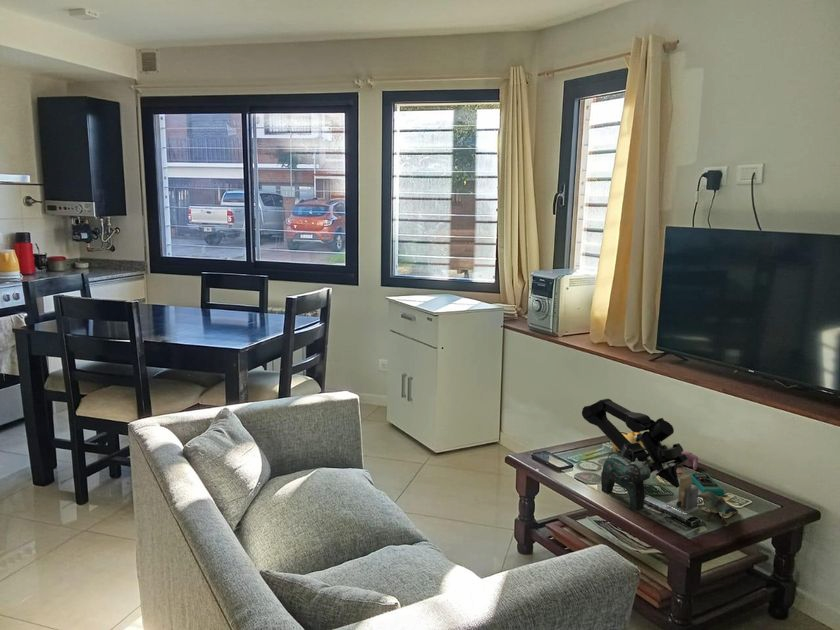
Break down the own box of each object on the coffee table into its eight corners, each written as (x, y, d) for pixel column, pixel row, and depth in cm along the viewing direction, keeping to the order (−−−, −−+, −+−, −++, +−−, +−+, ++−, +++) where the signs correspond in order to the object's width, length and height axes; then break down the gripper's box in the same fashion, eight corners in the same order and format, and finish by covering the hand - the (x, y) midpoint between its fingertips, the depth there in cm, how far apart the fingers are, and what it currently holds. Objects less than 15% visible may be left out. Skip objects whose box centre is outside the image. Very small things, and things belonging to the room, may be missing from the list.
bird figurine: (722, 503, 225) (708, 464, 216) (748, 515, 216) (735, 475, 208) (699, 530, 220) (684, 491, 211) (726, 544, 212) (712, 504, 203)
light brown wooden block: (674, 505, 222) (676, 478, 220) (685, 501, 225) (687, 474, 223) (680, 508, 220) (682, 481, 218) (691, 504, 223) (693, 477, 221)
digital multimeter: (707, 479, 247) (707, 472, 247) (724, 496, 233) (724, 489, 232) (688, 479, 247) (688, 472, 247) (703, 496, 233) (704, 489, 232)
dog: (639, 466, 258) (641, 436, 255) (603, 449, 275) (605, 421, 273) (653, 463, 261) (655, 433, 259) (617, 446, 279) (619, 418, 276)
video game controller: (697, 471, 256) (699, 454, 258) (696, 470, 253) (698, 453, 254) (671, 466, 262) (674, 449, 263) (669, 465, 258) (672, 448, 259)
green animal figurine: (649, 510, 221) (653, 456, 218) (635, 514, 219) (639, 459, 215) (609, 487, 239) (612, 437, 235) (595, 491, 236) (598, 440, 233)
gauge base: (666, 506, 225) (667, 484, 223) (679, 501, 228) (681, 479, 227) (684, 514, 218) (686, 492, 217) (697, 509, 222) (699, 487, 221)
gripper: (650, 442, 221) (676, 484, 214) (685, 432, 231) (710, 471, 224) (631, 456, 229) (655, 497, 222) (665, 445, 239) (689, 484, 232)
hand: (678, 487), depth 225 cm, fingers closed
